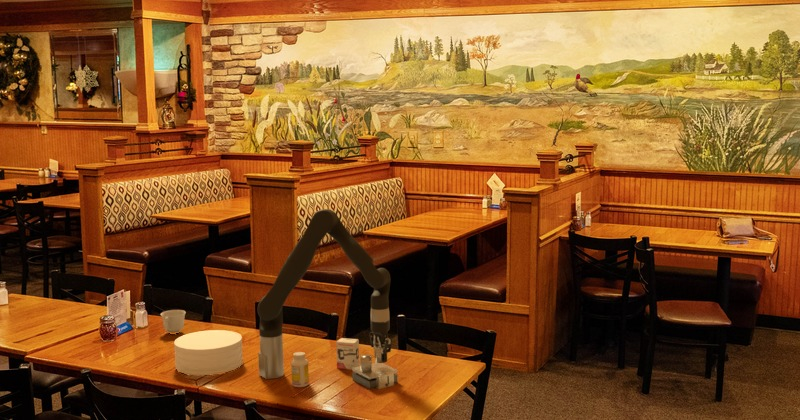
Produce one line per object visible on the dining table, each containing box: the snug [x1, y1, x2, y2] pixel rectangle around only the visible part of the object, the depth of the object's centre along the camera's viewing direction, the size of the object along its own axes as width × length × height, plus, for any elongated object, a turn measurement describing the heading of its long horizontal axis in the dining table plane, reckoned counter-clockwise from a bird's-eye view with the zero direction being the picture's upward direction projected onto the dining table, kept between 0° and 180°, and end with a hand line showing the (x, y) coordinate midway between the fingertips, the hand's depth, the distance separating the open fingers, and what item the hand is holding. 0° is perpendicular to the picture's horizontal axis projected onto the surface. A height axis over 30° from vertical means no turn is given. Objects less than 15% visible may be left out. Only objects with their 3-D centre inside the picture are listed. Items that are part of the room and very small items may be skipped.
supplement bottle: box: [290, 351, 310, 388], centre depth 332 cm, size 7×7×13 cm
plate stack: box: [173, 329, 244, 376], centre depth 358 cm, size 28×28×12 cm
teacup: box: [160, 309, 187, 333], centre depth 405 cm, size 12×15×10 cm
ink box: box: [336, 337, 360, 370], centre depth 352 cm, size 8×5×12 cm, turn 73°
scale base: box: [351, 371, 399, 390], centre depth 335 cm, size 13×15×5 cm
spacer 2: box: [374, 345, 386, 364], centre depth 336 cm, size 4×4×6 cm
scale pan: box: [352, 361, 398, 379], centre depth 335 cm, size 13×13×2 cm
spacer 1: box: [359, 354, 373, 373], centre depth 333 cm, size 4×4×6 cm
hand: (380, 360), depth 337 cm, fingers closed on spacer 2, 4 cm apart
